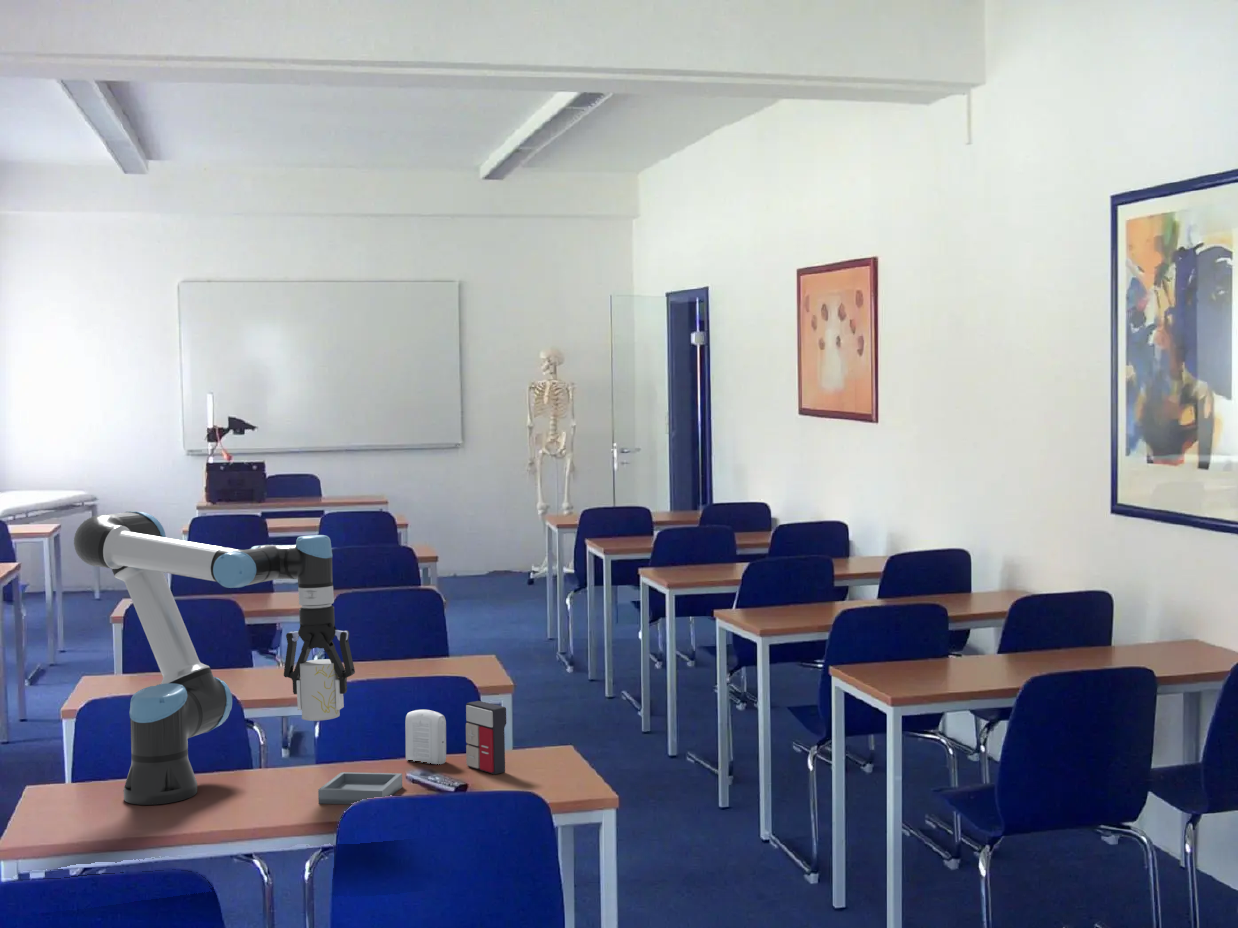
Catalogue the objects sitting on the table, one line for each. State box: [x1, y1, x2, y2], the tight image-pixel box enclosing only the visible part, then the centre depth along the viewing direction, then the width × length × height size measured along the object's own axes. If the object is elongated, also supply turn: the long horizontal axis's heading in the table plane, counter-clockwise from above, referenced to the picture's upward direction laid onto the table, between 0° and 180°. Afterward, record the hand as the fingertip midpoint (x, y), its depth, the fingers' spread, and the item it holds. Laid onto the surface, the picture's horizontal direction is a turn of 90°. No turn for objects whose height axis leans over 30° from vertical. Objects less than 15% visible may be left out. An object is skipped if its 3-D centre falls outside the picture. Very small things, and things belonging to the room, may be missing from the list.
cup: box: [300, 658, 341, 722], centre depth 286 cm, size 8×8×12 cm
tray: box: [317, 771, 403, 805], centre depth 281 cm, size 14×14×3 cm
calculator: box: [465, 700, 507, 776], centre depth 301 cm, size 11×4×15 cm, turn 42°
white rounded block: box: [404, 709, 447, 766], centre depth 309 cm, size 10×4×12 cm, turn 64°
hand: (320, 708), depth 286 cm, fingers closed on cup, 8 cm apart
